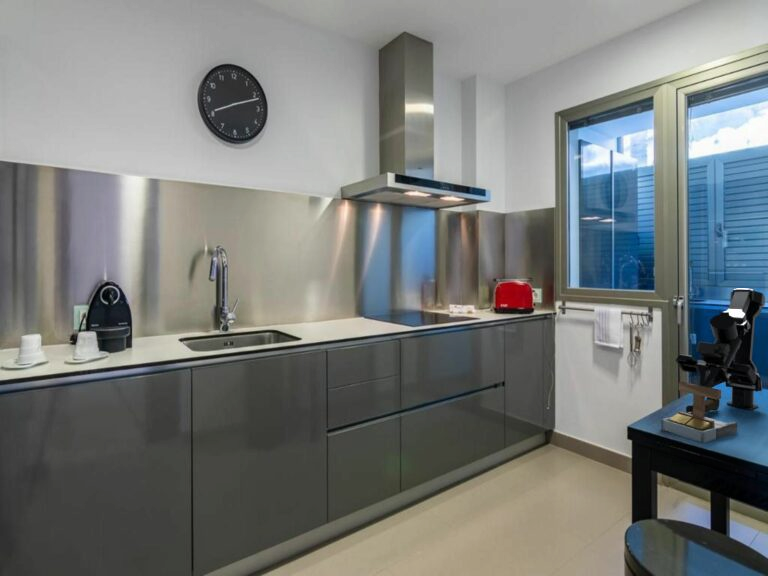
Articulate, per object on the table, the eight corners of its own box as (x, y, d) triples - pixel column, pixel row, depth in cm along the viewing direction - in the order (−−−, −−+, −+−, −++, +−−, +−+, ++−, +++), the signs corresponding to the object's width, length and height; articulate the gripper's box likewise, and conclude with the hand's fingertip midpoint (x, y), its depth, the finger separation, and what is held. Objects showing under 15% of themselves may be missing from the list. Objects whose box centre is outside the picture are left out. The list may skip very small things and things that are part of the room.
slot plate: (694, 420, 130) (694, 410, 129) (737, 432, 119) (737, 422, 119) (674, 425, 125) (674, 415, 125) (717, 439, 115) (717, 428, 115)
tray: (673, 426, 125) (674, 416, 125) (716, 439, 115) (716, 428, 115) (661, 429, 122) (661, 419, 122) (703, 443, 112) (703, 432, 112)
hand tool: (700, 420, 127) (700, 405, 127) (685, 416, 131) (685, 401, 131) (728, 409, 137) (728, 395, 137) (714, 406, 140) (714, 392, 140)
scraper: (682, 417, 126) (682, 381, 125) (720, 428, 117) (721, 390, 116) (675, 419, 124) (676, 382, 124) (714, 430, 115) (714, 391, 115)
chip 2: (695, 427, 120) (693, 418, 119) (711, 432, 116) (709, 422, 116) (687, 433, 118) (685, 424, 118) (703, 438, 115) (701, 429, 114)
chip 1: (678, 422, 124) (677, 413, 123) (693, 426, 120) (692, 417, 120) (671, 428, 122) (669, 419, 122) (685, 433, 119) (684, 423, 118)
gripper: (679, 328, 131) (657, 367, 127) (752, 336, 114) (729, 381, 110) (693, 351, 135) (672, 389, 130) (766, 362, 118) (744, 406, 114)
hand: (701, 390), depth 121 cm, fingers closed, pressing on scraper
